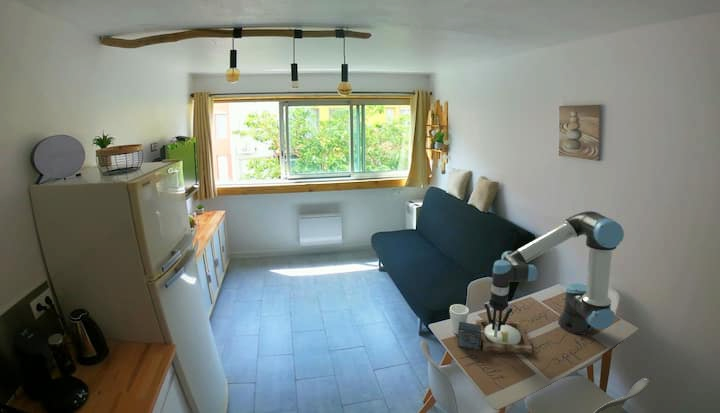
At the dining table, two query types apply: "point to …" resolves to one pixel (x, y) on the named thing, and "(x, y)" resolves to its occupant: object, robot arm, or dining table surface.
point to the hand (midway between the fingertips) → (495, 335)
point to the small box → (469, 335)
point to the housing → (521, 348)
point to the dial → (503, 335)
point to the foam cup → (458, 316)
